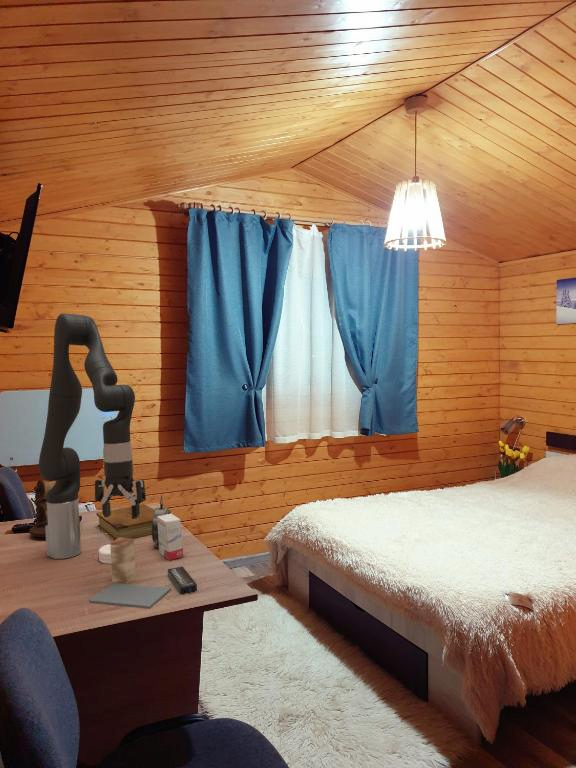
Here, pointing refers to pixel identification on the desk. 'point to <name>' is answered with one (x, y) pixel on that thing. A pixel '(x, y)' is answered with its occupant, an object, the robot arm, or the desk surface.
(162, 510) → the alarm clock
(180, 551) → the ink box
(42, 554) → the desk surface
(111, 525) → the diary
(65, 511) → the robot arm
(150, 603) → the felt mat
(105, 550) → the coaster
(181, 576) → the multiport hub
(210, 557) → the desk surface
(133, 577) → the birch block
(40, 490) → the brown tall piece
